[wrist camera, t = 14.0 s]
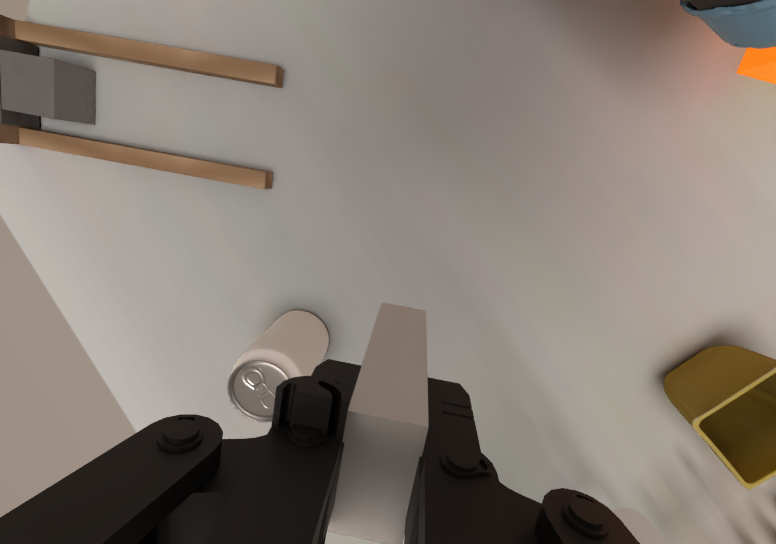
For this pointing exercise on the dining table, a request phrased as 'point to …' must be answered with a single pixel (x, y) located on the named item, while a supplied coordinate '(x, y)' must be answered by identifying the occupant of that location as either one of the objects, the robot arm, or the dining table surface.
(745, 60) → the orange juice
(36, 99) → the block
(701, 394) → the flower pot
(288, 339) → the can
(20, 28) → the oak track
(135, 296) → the dining table surface
